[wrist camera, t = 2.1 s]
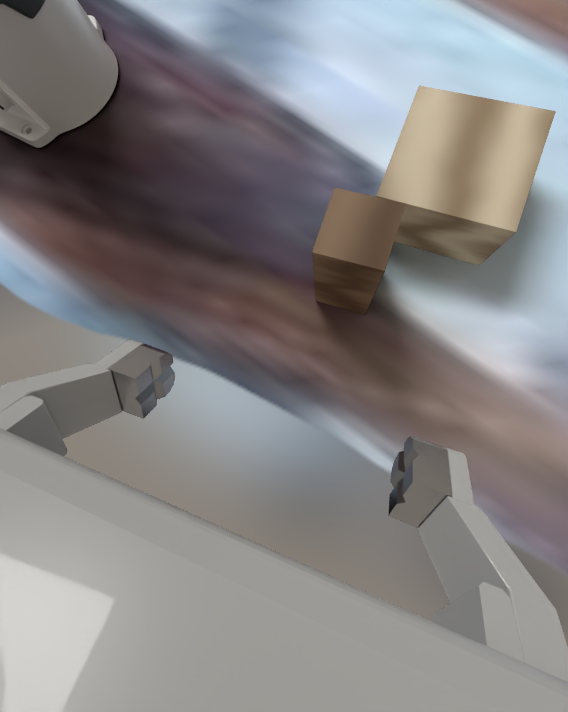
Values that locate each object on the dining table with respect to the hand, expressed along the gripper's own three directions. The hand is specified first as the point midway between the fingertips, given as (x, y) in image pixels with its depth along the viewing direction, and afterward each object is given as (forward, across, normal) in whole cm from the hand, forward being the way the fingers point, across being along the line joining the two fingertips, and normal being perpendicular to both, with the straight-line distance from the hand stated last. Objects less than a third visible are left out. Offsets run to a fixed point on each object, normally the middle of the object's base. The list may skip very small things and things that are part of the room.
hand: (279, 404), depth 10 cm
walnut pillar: (+23, 0, +5) cm, 23 cm away
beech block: (+31, -6, -3) cm, 31 cm away
